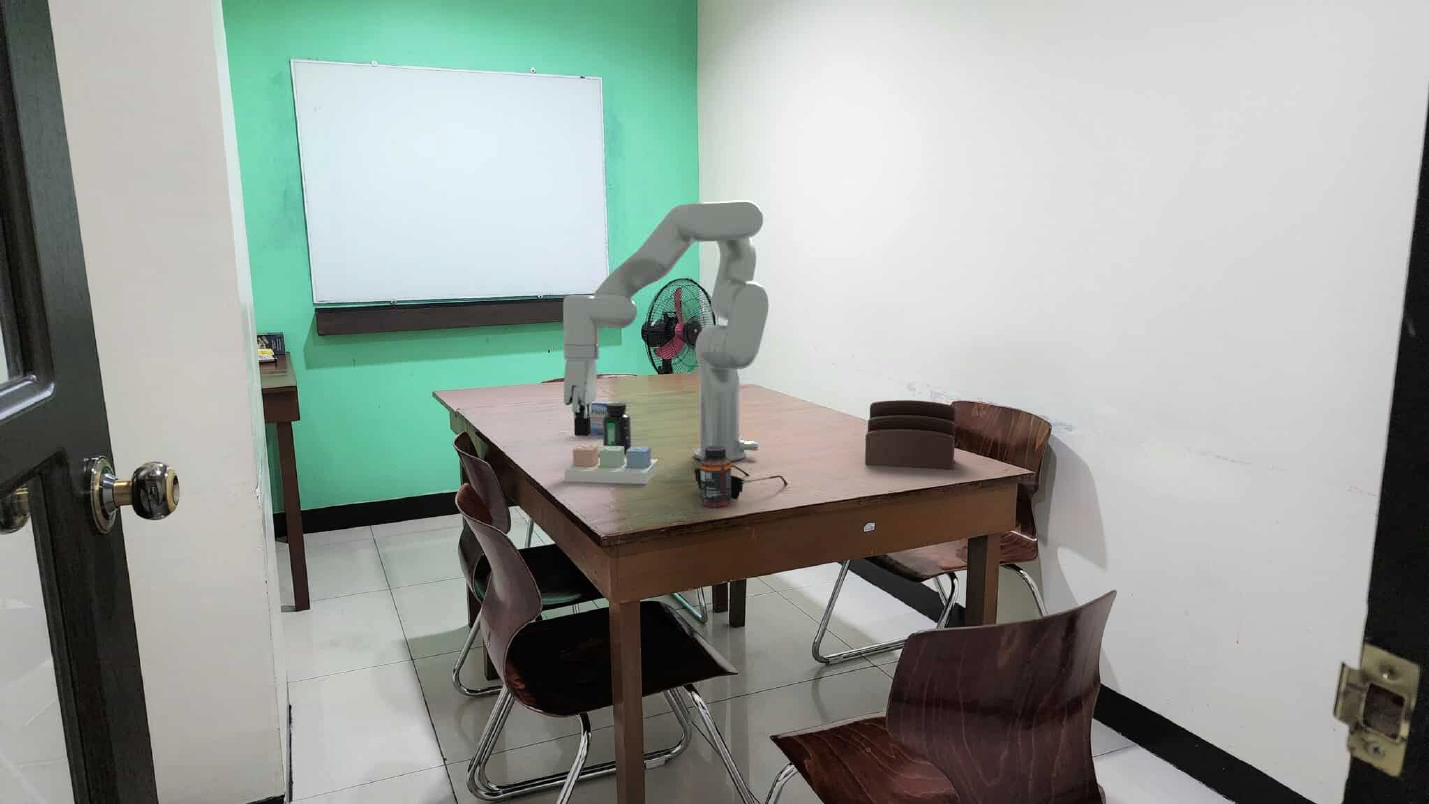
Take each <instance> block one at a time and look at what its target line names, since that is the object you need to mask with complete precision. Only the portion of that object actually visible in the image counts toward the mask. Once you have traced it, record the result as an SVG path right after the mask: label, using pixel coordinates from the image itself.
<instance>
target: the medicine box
mask: <svg viewBox="0 0 1429 804" xmlns="http://www.w3.org/2000/svg"><path fill="white" fill-rule="evenodd" d="M609 403H623V402H622V401H605V400H602V401H601V400H594V401H593V402H592V405H591V415H590V421H591V433H597V434H596V435H603V418H604V416H605V415H607V412H606V410H607V408H606V405H607V404H609Z"/></svg>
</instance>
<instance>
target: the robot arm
mask: <svg viewBox="0 0 1429 804" xmlns="http://www.w3.org/2000/svg"><path fill="white" fill-rule="evenodd" d="M763 215H764V214H763V212H762V210H761V208H760V207H759V206H758V204H756V203H755V202H753V201H751V200H747V199H745V200H744V199H742V200H731V201H717V202H715V201H714V202H692V203H684V204H679V205H677V206H675V207H674V208H672V209H670V211H669V212H668V213H667V214H666V215H665V216H664V217H663V219H662V220H661V221H660V223H659V224H658V225H657V227H655V229H654V230H653V231H652V233H651V234H650V235H649V236H648V237H647V238H646V239H645V241H644V242H643V243H642V245H641V246H640V247H639V248H638V249H637V250H636V251H635V252H634V253H632V255H630V256H629V257H628V258H627V259H626V260H625V261H624V262H622V263H621V264H620V265H619V266H618V267H616V269H614V270H612V272H611V273H610V274H609V275H608V276H607V277H606V279H605V280H603V282H602V283H601V284H600V285H599V287H598V288H597V289H596V290H595V291H594V292H593V294H592V295H591V294H571V295H566V296H565V297H564V299H563V301H562V302H563V304H562V306H563V307H562V308H563V357H564V358H563V359H564V360H565V366H564V378H563V379H564V380H563V404H564V405H565V406H570V405H571V406H572V407H571V411H572V412H573V420H574V421H573V422H574V425H573V426H574V427H573V428H574V430H573V431H574V436H576V437H589V436H590V435H592V434H591V421H590V415H591V405H592V402H593V401H596V399H597V398H598V397H597V396H598V395H597V394H598V379H597V378H598V376H597V375H598V374H597V373H598V372H597V363H596V361H597V360H599V359H600V344H599V343H600V328H608V329H614V330H622V329H626V328H629V326H631V325H633V323H634V322H635V321H636V318H637V315H638V309H637V305H636V304H635V301H633V300H632V298H633V297H634V296H635V295H636V294H637V293H638V292H640V291H641V290H642V289H644V288H645V287H647V286H649V285H651V284H653V283H657V282H658V281H660V280H662V279H663V278H665V277H666V276H668V275H669V273H670V272H671V271H672V270H673V269H674V267H675V266H676V265H677V263H678V262H679V261H680V260H681V258H682V257H683V256H684V255H685V253H687V251H688V250H689V249H690V247H691V246H692V245H693V244H694V243H702V242H703V243H706V242H716V244H717V246H718V248H719V253H720V255H719V258H720V259H719V263H718V264H719V265H718V268H717V269H718V270H717V273H716V277H715V278H716V279H715V282H714V287H713V290H712V291H713V292H712V296H711V299H710V300H711V301H710V306H711V311H712V312H713V314H714V316H716V317H718V318H719V319H722V320H725V321H727V324H726V325H725V324H713V325H708V326H706V327H704V328H703V329H702V330H701V331H700V332H699V333H698V335H697V338H696V341H695V355H696V361H697V366H698V367H697V368H698V374H699V375H698V378H699V435H700V436H699V439H700V440H699V441H700V443H699V444H700V447H699V448H697V449H695V450H694V451H693V456H694V458H695V459H697V460H702V459H703V458H704V457H705V456H706V455H705V448H706V447H709V446H723V447H725V448H726V454H725V455H726V457H727V458H729V460H730V462H732V461H738V460H742V459H744V458H745V457H747V451H755V452H756V451H758V450H759V443H758V442H755V441H750V440H749V441H745V440H744V439H743V435H740V429H741V428H740V424H741V423H740V422H741V421H740V417H741V416H740V391H741V389H740V388H741V387H740V378H739V372H738V370H743V369H746V368H748V367H750V366H751V365H752V364H753V363H754V361H756V358H757V356H758V354H759V351H760V347H761V343H762V339H763V334H764V331H765V326H766V321H767V318H768V314H769V304H770V303H769V297H768V294H767V292H766V290H765V288H764V287H763V286H762V285H761V284H759V283H758V282H755V281H754V277H755V276H754V275H755V271H756V264H757V253H756V249H755V245H754V242H753V240H752V238H753V237H754V236H756V235H757V234H758V233H759V232H760V231H761V229H762V226H763V224H764V216H763Z"/></svg>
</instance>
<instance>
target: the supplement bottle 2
mask: <svg viewBox="0 0 1429 804" xmlns="http://www.w3.org/2000/svg"><path fill="white" fill-rule="evenodd" d="M725 454H726V448H725V447H723V446H709V447H706V448H705V455H706V456H705V457H704V458H703V459H702V460H701V461H700V469H701V490H700V495H701V496H700V499H701V501H700V502H701V504H702V505H703V506H704V507H707V508H708V507H709V508H712V509H713V508H714V509H715V508H716V509H717V508H724V507H728V506H729V505H731V503H732V499H733V498H732V496H731V475H732V467H731V465H732V464H731V463H732V461H730V460H729V458H727V457H726V455H725Z"/></svg>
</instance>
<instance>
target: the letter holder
mask: <svg viewBox="0 0 1429 804" xmlns="http://www.w3.org/2000/svg"><path fill="white" fill-rule="evenodd" d="M956 413H957V411H956V407H955V406H954V405H951V404H946V403H941V402H935V401H926V400H914V399H912V400H911V399H910V400H907V399H903V400H901V399H899V400H884V401H875V402H871V404H870V405H869V419H868V421H867V432H866V435H865V451H864V452H865V457H864V459H865V460H864V461H865V462H864V465H868V466H883V465H885V466H884V467H887V466H888V467H900V468H901V467H902V468H903V467H905V468H918V467H919V468H921V469H922V468H923V469H936V470H937V469H940V470H954V468H955V464H954V463H955V442H956V441H955V440H956V439H955V438H956V416H957V415H956ZM919 468H918V469H919Z"/></svg>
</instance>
